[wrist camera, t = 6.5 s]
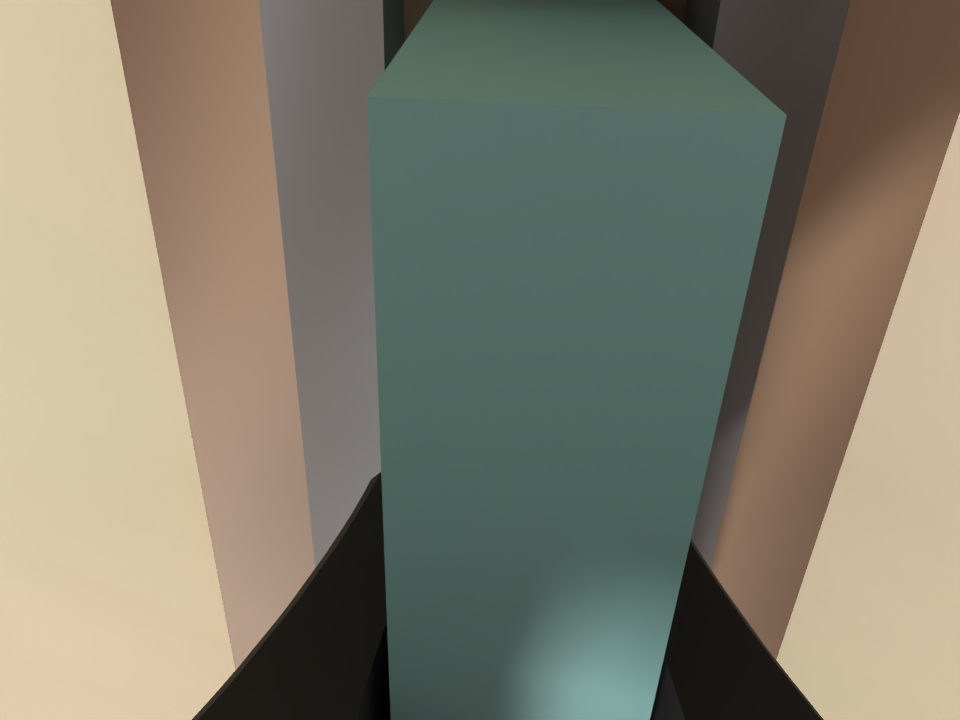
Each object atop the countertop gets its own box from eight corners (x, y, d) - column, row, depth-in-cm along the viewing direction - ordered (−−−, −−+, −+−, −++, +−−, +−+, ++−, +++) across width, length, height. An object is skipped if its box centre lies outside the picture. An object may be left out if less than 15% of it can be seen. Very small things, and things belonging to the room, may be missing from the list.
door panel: (632, -21, 9) (786, 114, 4) (549, 681, 15) (565, 1093, 10) (453, -29, 9) (367, 97, 4) (443, 675, 15) (404, 1083, 10)
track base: (1046, -339, 8) (1499, -526, 4) (721, 733, 18) (777, 972, 14) (93, -371, 9) (-260, -576, 5) (267, 706, 18) (197, 936, 14)
